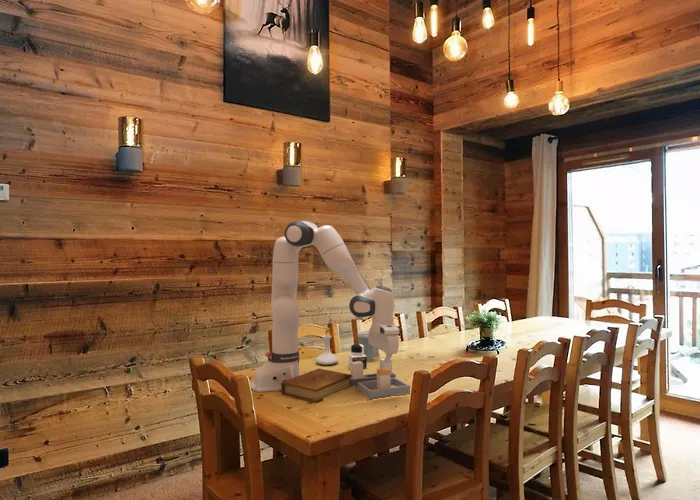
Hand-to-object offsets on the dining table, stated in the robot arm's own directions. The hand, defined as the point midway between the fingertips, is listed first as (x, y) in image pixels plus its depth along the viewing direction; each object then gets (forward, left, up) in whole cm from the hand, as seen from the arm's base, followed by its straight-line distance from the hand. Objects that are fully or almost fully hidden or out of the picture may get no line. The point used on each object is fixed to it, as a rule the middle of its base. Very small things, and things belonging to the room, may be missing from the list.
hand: (382, 360), depth 198 cm
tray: (+1, 0, -13) cm, 13 cm away
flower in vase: (-3, +53, -14) cm, 55 cm away
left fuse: (-5, +13, -12) cm, 19 cm away
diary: (-23, +13, -14) cm, 30 cm away
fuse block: (+2, +13, -13) cm, 19 cm away
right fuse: (+9, +13, -12) cm, 20 cm away
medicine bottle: (+6, +36, -14) cm, 39 cm away
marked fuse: (+1, 0, -13) cm, 13 cm away
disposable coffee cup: (+18, +50, -14) cm, 55 cm away
